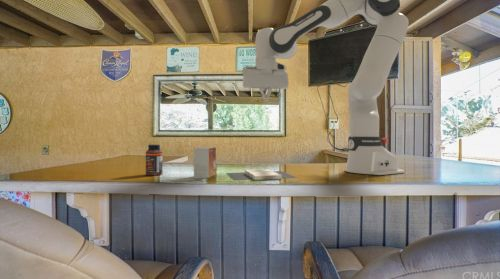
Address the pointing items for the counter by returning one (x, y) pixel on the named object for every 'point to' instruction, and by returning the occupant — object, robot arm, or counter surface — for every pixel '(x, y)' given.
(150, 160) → the supplement bottle
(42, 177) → the counter surface
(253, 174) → the slab
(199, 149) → the small box
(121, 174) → the counter surface
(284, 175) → the mat
